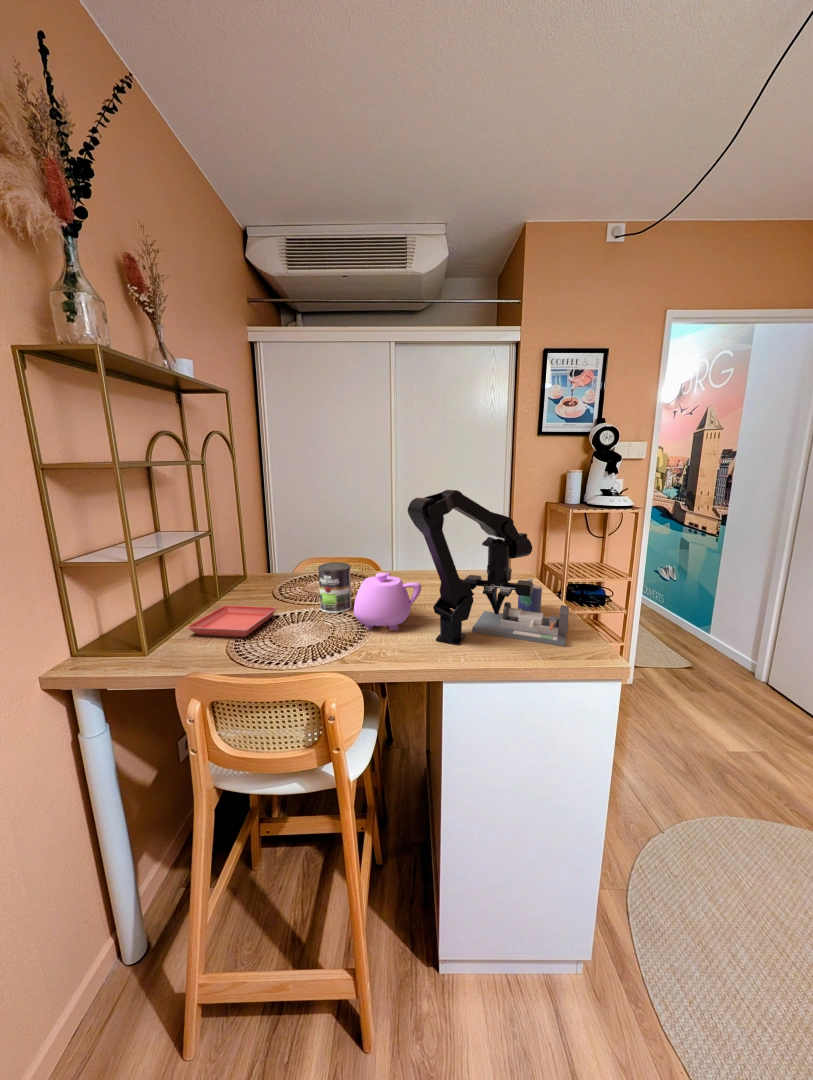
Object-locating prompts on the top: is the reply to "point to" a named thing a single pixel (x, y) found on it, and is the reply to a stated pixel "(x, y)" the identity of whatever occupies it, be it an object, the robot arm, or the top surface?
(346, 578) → the coffee can
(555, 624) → the marker
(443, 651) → the top surface
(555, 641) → the gauge bench
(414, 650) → the top surface
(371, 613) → the teapot
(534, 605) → the flask
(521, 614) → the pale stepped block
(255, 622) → the plant saucer
